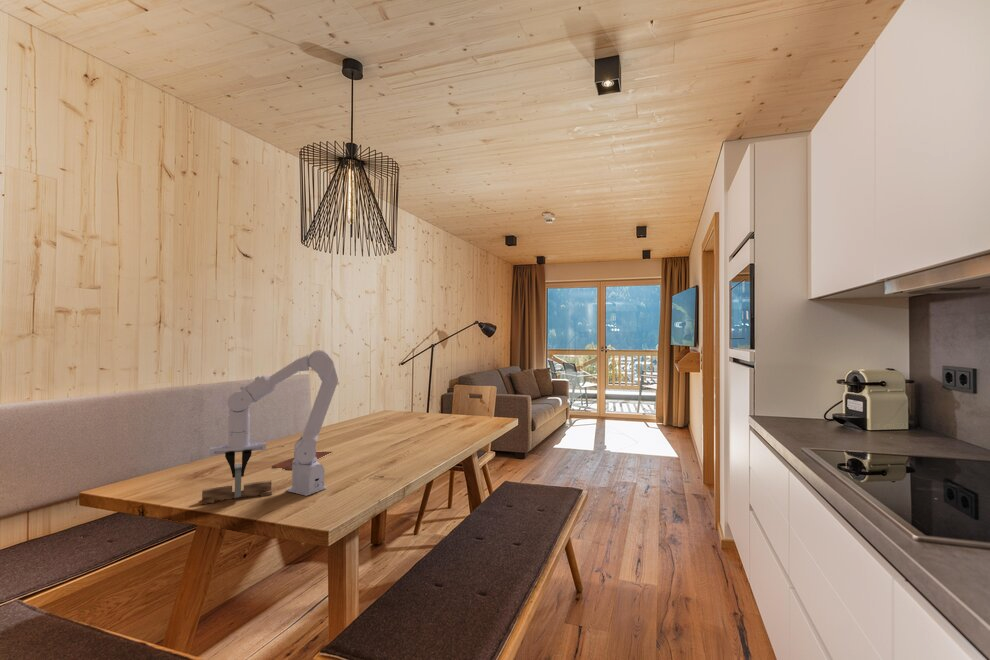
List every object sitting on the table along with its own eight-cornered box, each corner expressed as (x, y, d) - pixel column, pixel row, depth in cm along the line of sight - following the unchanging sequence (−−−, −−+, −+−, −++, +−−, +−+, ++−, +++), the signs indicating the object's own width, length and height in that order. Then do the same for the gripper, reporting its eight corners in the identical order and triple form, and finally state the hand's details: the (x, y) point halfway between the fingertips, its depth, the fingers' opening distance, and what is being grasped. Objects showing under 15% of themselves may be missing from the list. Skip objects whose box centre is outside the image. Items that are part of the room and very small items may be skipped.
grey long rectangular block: (240, 496, 132) (241, 472, 132) (234, 497, 131) (235, 473, 131) (240, 486, 141) (241, 463, 141) (234, 487, 140) (235, 464, 140)
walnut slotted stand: (270, 489, 142) (270, 478, 143) (271, 494, 138) (271, 483, 138) (202, 499, 134) (203, 487, 134) (201, 505, 129) (201, 492, 129)
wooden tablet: (292, 472, 163) (292, 468, 163) (269, 470, 165) (269, 465, 165) (336, 453, 188) (336, 449, 188) (315, 451, 191) (316, 447, 191)
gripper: (265, 426, 143) (264, 469, 143) (211, 430, 136) (210, 475, 136) (266, 430, 137) (265, 475, 137) (209, 435, 130) (208, 482, 130)
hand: (238, 476), depth 136 cm, fingers closed on grey long rectangular block, 2 cm apart
